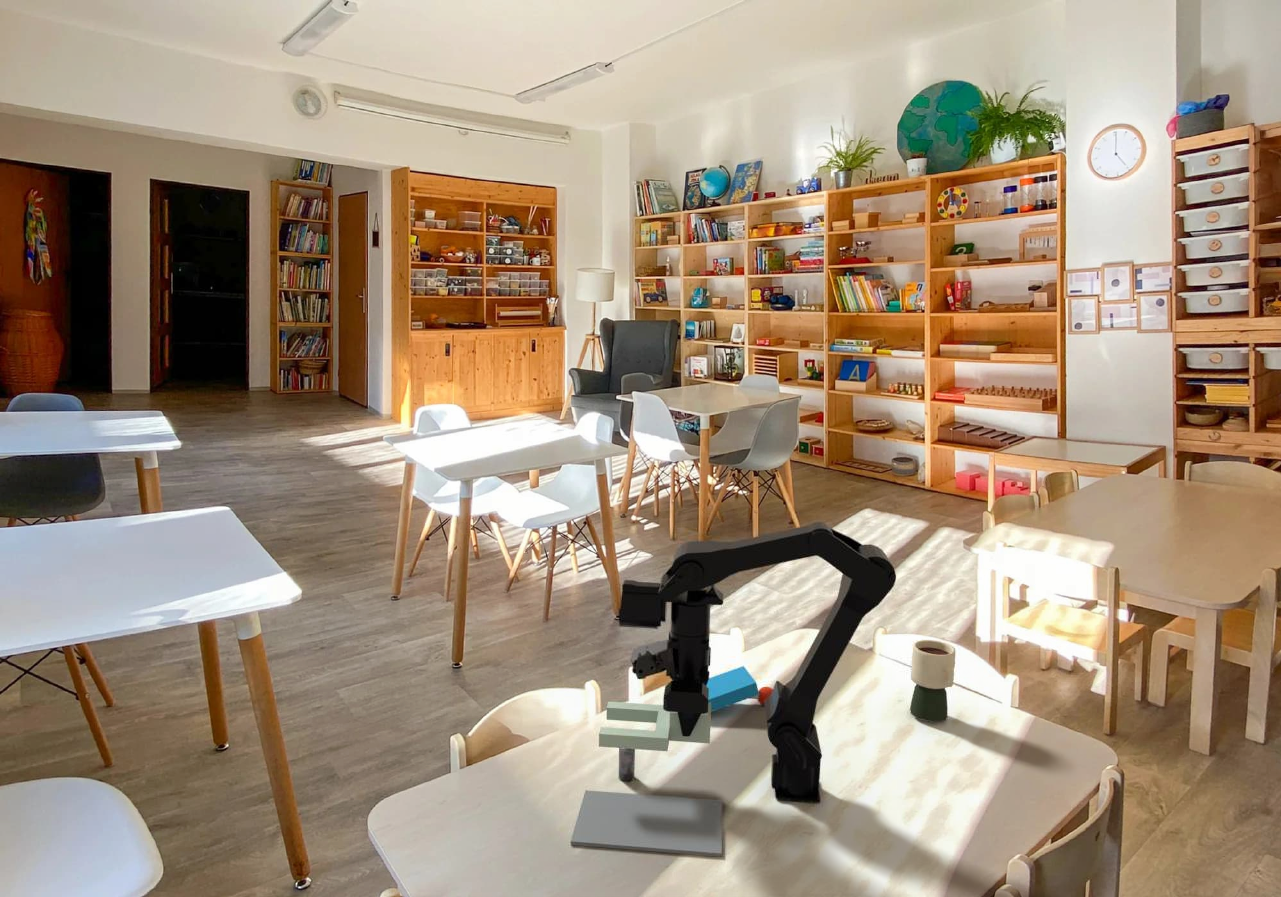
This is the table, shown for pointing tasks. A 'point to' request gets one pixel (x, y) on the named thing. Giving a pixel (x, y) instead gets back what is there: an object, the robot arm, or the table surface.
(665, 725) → the c link
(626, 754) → the grey metal rod
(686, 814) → the mat
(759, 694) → the lever
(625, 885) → the table surface
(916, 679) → the cream and green cup
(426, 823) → the table surface
